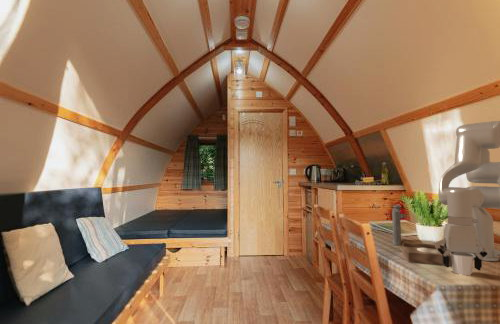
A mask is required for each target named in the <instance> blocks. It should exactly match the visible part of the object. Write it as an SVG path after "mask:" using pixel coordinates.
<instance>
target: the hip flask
mask: <svg viewBox="0 0 500 324" xmlns="http://www.w3.org/2000/svg"><path fill="white" fill-rule="evenodd" d="M392 207H393V208H392V210H391V214H392V215H391V216H392V218H391V219H392V245H394V246H400V245H401V244H402V235H401V234H402V233H401V232H402V230H401V229H402V228H401V227H402V226H401V205H392Z"/></svg>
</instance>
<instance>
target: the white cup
mask: <svg viewBox="0 0 500 324" xmlns="http://www.w3.org/2000/svg"><path fill="white" fill-rule="evenodd" d="M450 256H451V263H452V266H451V269H452V272H453V273H454V274H456V273H457V274H456V275H459V274H462V275H461V276H465V275H470V276H472V275H473V264H474V259H473V255H471V254H468V253H459V252H450ZM471 274H472V275H471Z"/></svg>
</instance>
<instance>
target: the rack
mask: <svg viewBox="0 0 500 324" xmlns="http://www.w3.org/2000/svg"><path fill="white" fill-rule="evenodd" d="M440 248H441V249H442V250H444V249H445V248H444V245H443V244H442V245H440ZM402 255H403V257H404V258H405V260H406V261H407V262H408V263H413V264H414V263H415V264H425V265H433V266H434V265H436V266H445V265H444V264H443V258H442V254H441V253H440V252H439V251H438V250H437V249H436V247H435V245H434V243H433V244H432V243H417V242H404V241H403V242H402ZM448 257H449V267H452V263H451V256H450V253H449V254H448Z"/></svg>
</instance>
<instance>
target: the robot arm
mask: <svg viewBox="0 0 500 324" xmlns="http://www.w3.org/2000/svg"><path fill="white" fill-rule="evenodd" d="M455 135H456V145H455V153H454V163H453V164H452V165H451V166H450V167H449V168H447V169H446V170H445V172H444V173H443V174H442V176H440V177H441V178H440V179H439V184H438V185H439V186H438V200H439V202H440V203H441V204H442V205H444V206H447V223H445V224H444V230H443V239H440V240H438V241H436V242H434V243H433V245H435V247H436V249H437V250H438V251H439V252H440V253H441V254H442V258H443V264H444V265H443V266H445V267H446V268H450V266H449V257H448V254H449V253H450V252H459V253H468V254H471V255H473V264H474V268H475V269H476V270H477V271H481V268H482V267H483V264H482V261H483V262H484V261H485V262H498V261H500V249H497V248H495V238H494V237H495V236H494V235H495V234H494V219H493V217H492V215H491V214H490V213H489V212H488V211H487V210H486V209H495V210H500V161H491V158H490V156H491V155H490V153H491V152H490V150H494V149H499V148H500V120H492V121H486V122H485V121H484V122H475V123H473V122H472V123H467V124H462V125H459V126H458V127H456V129H455ZM463 175H466V176H465V177H466V179H467V181H468V182H469V183H472V184H494V185H495V184H496V185H499V186H487V185H486V186H485V185H483V186H482V185H481V186H480V185H474V186H473V185H472V186H467V187H462V186H459V187H455V186H450V184H451V183H452V181H454V180H455V179H456V178H458V177H459V176H463ZM440 245H444V248H445V249H444V250H442V249H441V248H440Z"/></svg>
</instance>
